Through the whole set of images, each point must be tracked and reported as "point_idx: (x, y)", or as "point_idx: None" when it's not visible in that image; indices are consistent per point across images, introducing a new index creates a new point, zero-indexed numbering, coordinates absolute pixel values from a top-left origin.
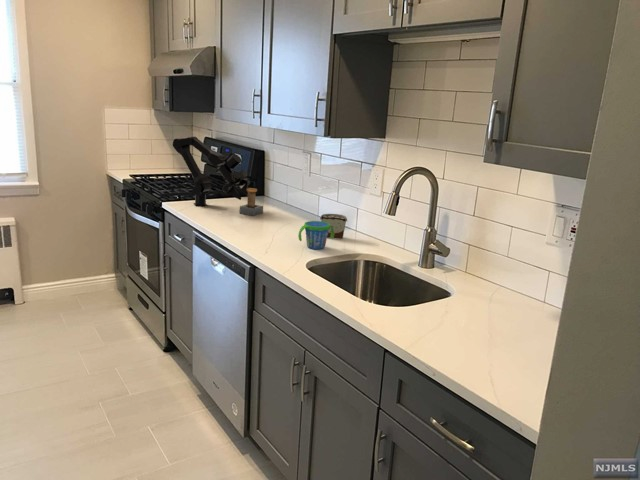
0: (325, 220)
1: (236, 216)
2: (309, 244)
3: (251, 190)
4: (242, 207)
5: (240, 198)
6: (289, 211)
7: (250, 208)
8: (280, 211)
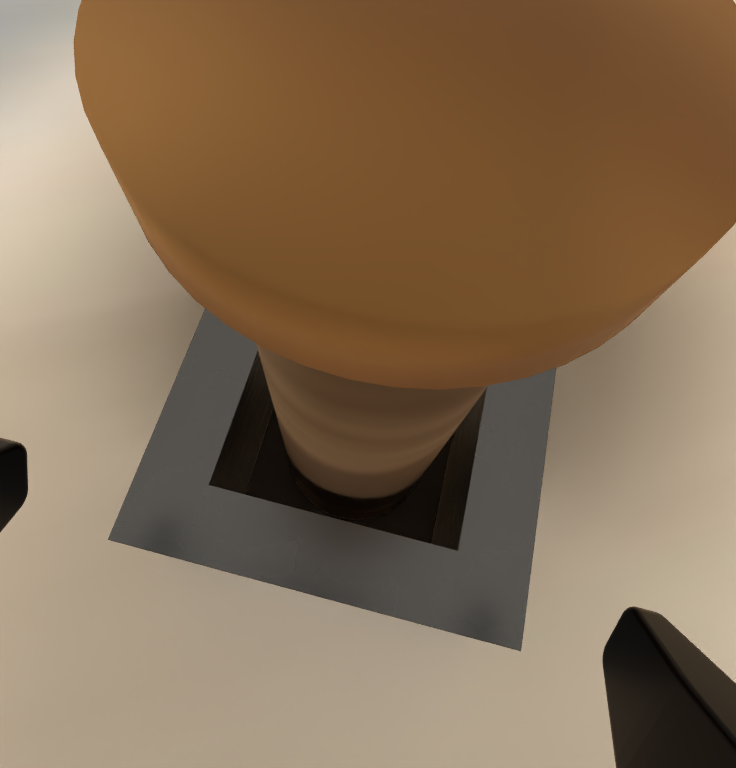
0: None
1: (696, 614)
2: None
3: (704, 28)
4: (524, 568)
5: (670, 639)
6: (2, 35)
7: (553, 372)
8: (35, 119)
